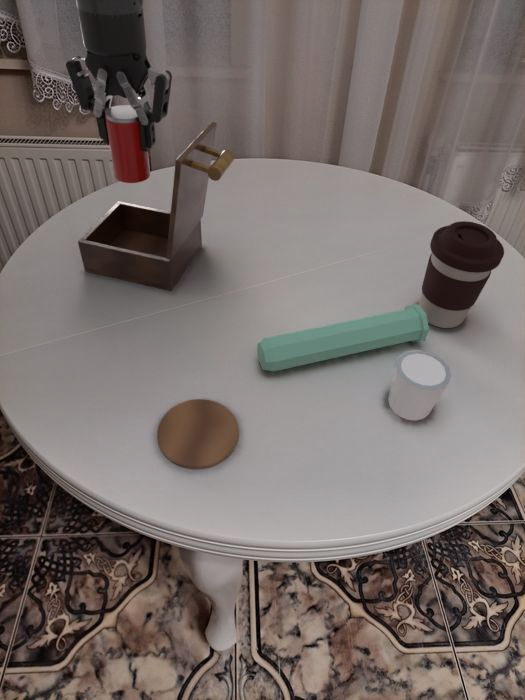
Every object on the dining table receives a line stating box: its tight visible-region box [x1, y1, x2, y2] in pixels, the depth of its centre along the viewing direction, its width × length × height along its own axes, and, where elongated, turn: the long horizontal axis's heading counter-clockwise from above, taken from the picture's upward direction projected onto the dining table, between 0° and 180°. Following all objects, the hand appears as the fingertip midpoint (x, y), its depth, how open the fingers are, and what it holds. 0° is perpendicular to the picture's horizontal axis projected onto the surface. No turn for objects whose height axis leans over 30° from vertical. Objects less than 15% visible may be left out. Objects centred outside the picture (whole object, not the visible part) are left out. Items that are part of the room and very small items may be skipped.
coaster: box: [156, 398, 240, 470], centre depth 63 cm, size 10×10×1 cm
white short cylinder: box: [387, 349, 452, 422], centre depth 66 cm, size 7×7×7 cm
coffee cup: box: [418, 220, 505, 329], centre depth 76 cm, size 10×10×15 cm
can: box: [105, 104, 151, 184], centre depth 72 cm, size 5×5×9 cm
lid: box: [166, 121, 236, 260], centre depth 76 cm, size 16×14×5 cm
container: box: [256, 303, 430, 372], centre depth 73 cm, size 6×6×25 cm
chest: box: [77, 200, 203, 292], centre depth 86 cm, size 16×14×6 cm
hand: (128, 145), depth 72 cm, fingers closed on can, 5 cm apart
